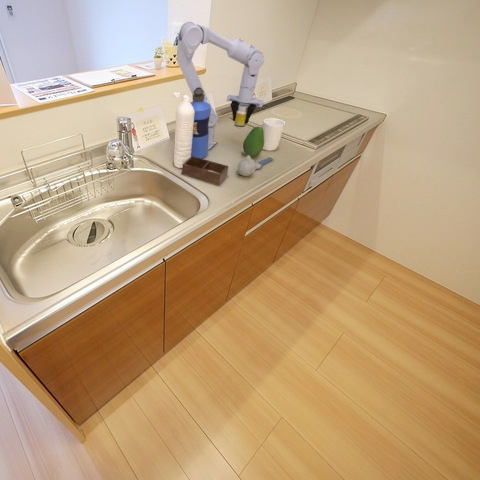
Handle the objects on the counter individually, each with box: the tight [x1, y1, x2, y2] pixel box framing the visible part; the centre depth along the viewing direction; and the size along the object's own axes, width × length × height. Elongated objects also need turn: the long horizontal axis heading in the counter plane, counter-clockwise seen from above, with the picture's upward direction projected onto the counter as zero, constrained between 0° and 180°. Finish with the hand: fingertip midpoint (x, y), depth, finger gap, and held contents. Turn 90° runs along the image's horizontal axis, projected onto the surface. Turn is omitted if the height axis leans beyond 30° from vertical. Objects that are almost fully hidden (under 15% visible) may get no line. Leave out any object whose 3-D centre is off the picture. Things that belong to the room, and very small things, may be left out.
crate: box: [181, 156, 229, 186], centre depth 101 cm, size 15×8×4 cm, turn 58°
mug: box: [261, 117, 286, 152], centre depth 117 cm, size 9×12×11 cm
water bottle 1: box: [172, 91, 195, 169], centre depth 100 cm, size 9×6×25 cm
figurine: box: [237, 155, 257, 177], centre depth 99 cm, size 6×7×8 cm
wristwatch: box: [236, 157, 274, 176], centre depth 106 cm, size 4×20×1 cm, turn 128°
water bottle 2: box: [190, 87, 212, 159], centre depth 106 cm, size 9×9×25 cm
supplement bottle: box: [233, 103, 249, 129], centre depth 115 cm, size 5×5×8 cm
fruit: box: [242, 126, 264, 159], centre depth 109 cm, size 8×8×12 cm
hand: (240, 121), depth 116 cm, fingers closed on supplement bottle, 5 cm apart
